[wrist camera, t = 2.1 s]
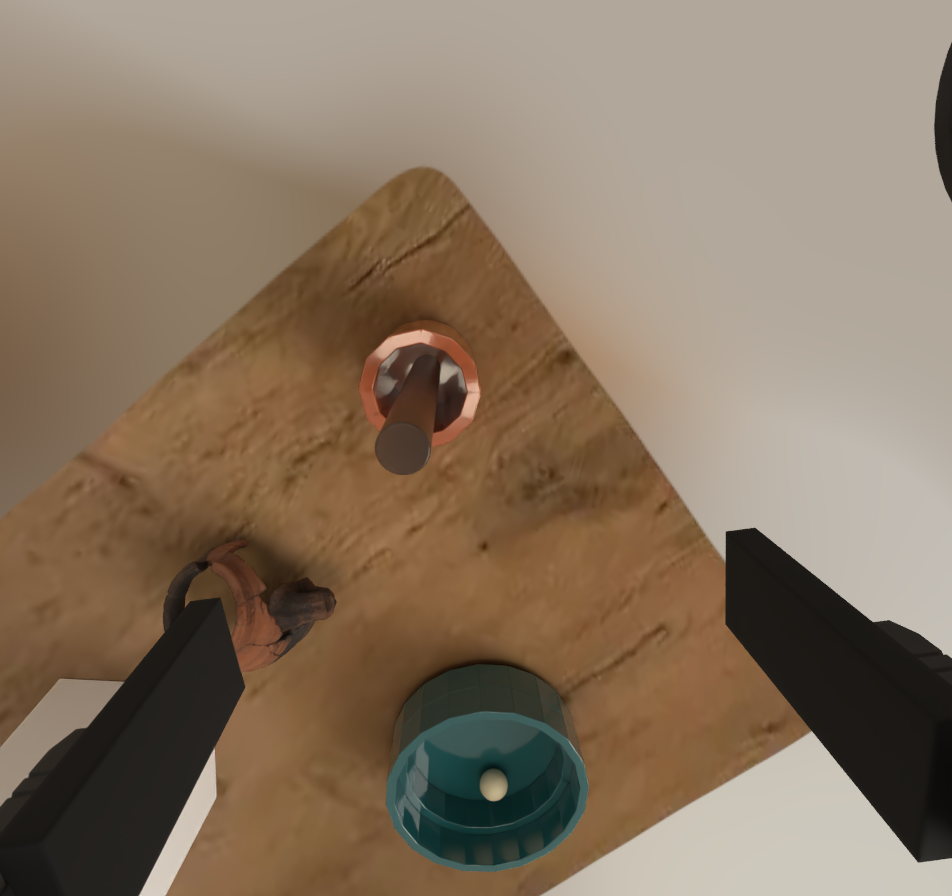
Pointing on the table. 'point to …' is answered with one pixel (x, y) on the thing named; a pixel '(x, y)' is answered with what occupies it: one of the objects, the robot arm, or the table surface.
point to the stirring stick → (411, 420)
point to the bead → (493, 784)
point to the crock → (395, 362)
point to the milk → (77, 709)
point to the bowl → (485, 769)
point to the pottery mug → (255, 606)
